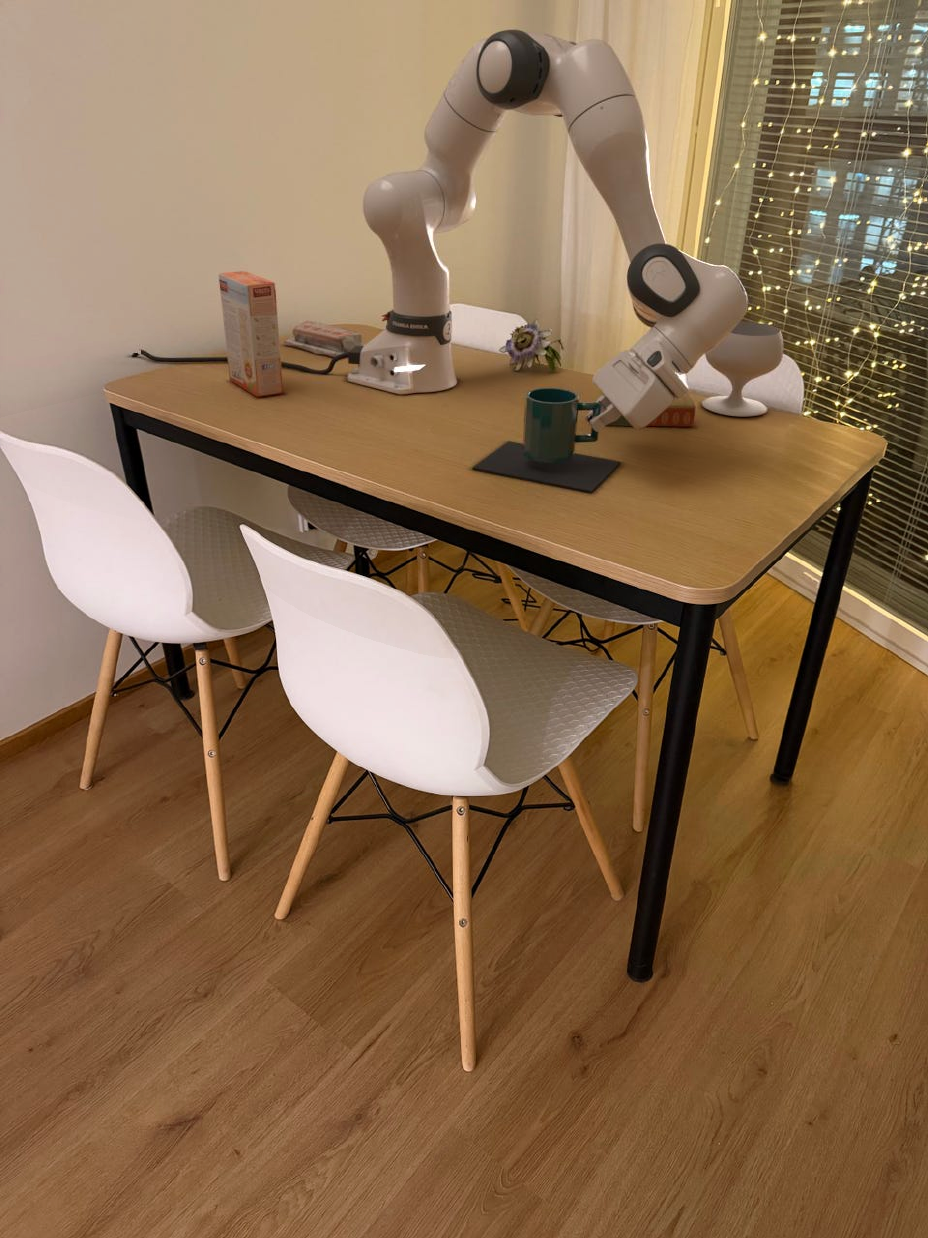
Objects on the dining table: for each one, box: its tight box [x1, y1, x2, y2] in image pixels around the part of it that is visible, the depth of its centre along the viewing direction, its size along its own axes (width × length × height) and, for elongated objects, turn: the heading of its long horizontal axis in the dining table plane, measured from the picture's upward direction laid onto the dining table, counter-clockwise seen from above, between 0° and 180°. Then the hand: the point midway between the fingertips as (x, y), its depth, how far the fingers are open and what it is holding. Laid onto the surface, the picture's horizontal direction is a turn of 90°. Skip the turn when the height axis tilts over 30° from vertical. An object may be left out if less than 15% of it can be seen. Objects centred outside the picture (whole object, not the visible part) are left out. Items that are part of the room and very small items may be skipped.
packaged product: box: [283, 320, 367, 358], centre depth 206 cm, size 18×5×10 cm
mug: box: [522, 387, 601, 463], centre depth 143 cm, size 12×8×10 cm
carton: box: [607, 392, 697, 428], centre depth 167 cm, size 8×16×4 cm, turn 88°
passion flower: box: [498, 318, 565, 373], centre depth 195 cm, size 11×11×12 cm
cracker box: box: [218, 270, 284, 398], centre depth 175 cm, size 14×6×21 cm, turn 34°
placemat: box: [472, 440, 621, 494], centre depth 146 cm, size 20×14×1 cm
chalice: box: [701, 320, 784, 417], centre depth 171 cm, size 14×14×15 cm
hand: (590, 425), depth 144 cm, fingers closed on mug
